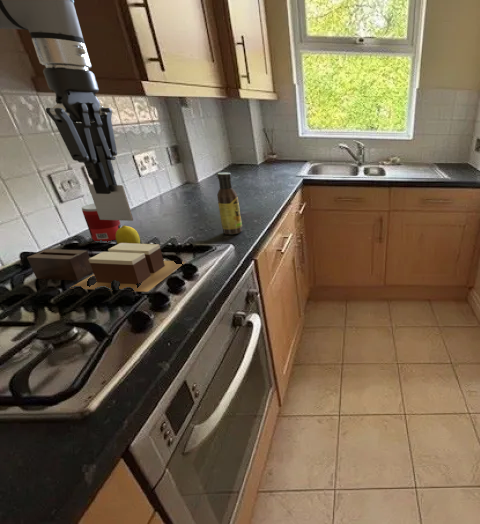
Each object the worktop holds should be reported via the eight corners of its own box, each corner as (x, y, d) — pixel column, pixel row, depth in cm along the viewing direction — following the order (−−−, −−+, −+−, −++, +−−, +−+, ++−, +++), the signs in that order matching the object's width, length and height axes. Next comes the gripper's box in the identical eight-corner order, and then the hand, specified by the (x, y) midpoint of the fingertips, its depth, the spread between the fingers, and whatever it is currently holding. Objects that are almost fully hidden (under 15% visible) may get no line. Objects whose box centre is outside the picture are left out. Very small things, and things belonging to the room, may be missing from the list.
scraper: (97, 220, 75) (72, 146, 68) (103, 218, 76) (78, 145, 69) (130, 221, 74) (108, 147, 68) (135, 219, 76) (113, 146, 69)
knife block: (39, 284, 78) (26, 257, 75) (57, 274, 83) (47, 248, 80) (80, 286, 78) (69, 259, 75) (96, 276, 83) (87, 250, 80)
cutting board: (71, 293, 75) (69, 288, 74) (122, 263, 89) (120, 258, 89) (149, 297, 74) (147, 291, 74) (187, 266, 89) (186, 261, 88)
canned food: (129, 238, 106) (119, 204, 101) (100, 246, 99) (88, 210, 95) (117, 233, 109) (106, 201, 104) (88, 241, 103) (76, 206, 98)
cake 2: (115, 271, 82) (107, 249, 79) (127, 264, 86) (120, 242, 83) (154, 273, 82) (148, 251, 79) (165, 265, 86) (159, 244, 83)
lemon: (115, 254, 95) (106, 227, 91) (132, 246, 100) (124, 221, 96) (131, 256, 94) (123, 229, 90) (147, 249, 98) (140, 223, 95)
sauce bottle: (242, 234, 111) (233, 174, 103) (222, 236, 110) (212, 175, 101) (242, 228, 117) (234, 171, 108) (223, 230, 115) (213, 171, 107)
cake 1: (96, 282, 77) (88, 259, 74) (110, 274, 81) (103, 251, 78) (138, 284, 76) (131, 261, 74) (150, 275, 80) (144, 253, 78)
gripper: (52, 64, 56) (98, 201, 66) (116, 72, 69) (146, 185, 79) (9, 63, 56) (61, 200, 66) (81, 72, 69) (115, 184, 79)
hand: (107, 192), depth 73 cm, fingers closed on scraper, 2 cm apart
